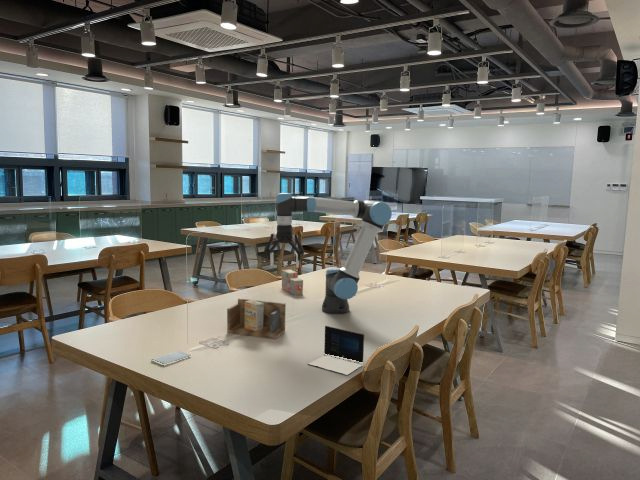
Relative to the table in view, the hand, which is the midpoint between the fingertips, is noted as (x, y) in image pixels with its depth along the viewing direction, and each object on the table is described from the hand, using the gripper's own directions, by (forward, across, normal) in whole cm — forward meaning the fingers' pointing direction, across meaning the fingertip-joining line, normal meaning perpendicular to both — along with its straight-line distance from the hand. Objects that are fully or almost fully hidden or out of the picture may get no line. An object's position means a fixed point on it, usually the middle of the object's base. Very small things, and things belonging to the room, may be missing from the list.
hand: (284, 266), depth 238 cm
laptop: (+28, +38, -50) cm, 69 cm away
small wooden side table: (+27, -6, -23) cm, 36 cm away
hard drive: (+27, -25, -65) cm, 74 cm away
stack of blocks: (+28, -16, +60) cm, 69 cm away
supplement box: (+26, -7, -24) cm, 36 cm away
